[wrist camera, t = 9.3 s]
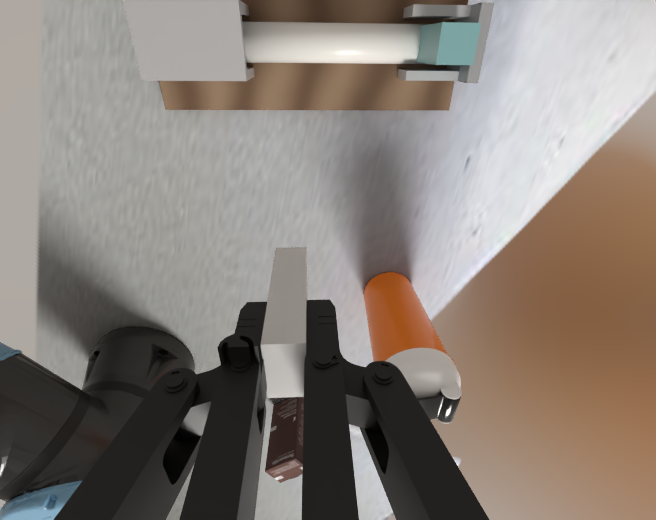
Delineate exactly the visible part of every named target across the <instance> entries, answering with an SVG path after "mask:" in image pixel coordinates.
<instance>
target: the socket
mask: <svg viewBox="0 0 656 520" xmlns="http://www.w3.org/2000/svg"><path fill="white" fill-rule="evenodd" d="M493 6H494V3H478V4H474V5H423V4H413V5H411V6H408V7H406V8H404V13H403V19H455V20H454V22H462V23H481V28H480V33H479V38H478V43H477V48H476V53H475V58H474V63H473V65H447V69H398V74H397V78H400V79H402V80H405V81H460V82H465V83H478V79H479V74H480V69H481V65H482V60H483V55H484V50H485V45H486V40H487V35H488V31H489V26H490V21H491V16H492V11H493Z"/></svg>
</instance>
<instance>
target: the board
mask: <svg viewBox="0 0 656 520" xmlns="http://www.w3.org/2000/svg"><path fill="white" fill-rule="evenodd" d="M240 1H242V2H243V3H245V4H246V5H248V8H249V16H242V22H308V23H382V24H435V23H441V22H454V20H455V19H403V13H404V8H406V7H408V6H411V5H413V4H423V5H467V4H468V0H240ZM246 67H247V68H254V76H255V77H253V78H251V79H250V80H248V81H159V82H160V86H161V91H162V96H163V100H164V105H165V110H449V107H450V102H451V96H452V90H453V85H454V81H405V80H402V79H400V78H397V74H398V69H447V65H433V64H361V63H246Z"/></svg>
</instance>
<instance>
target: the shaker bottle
mask: <svg viewBox="0 0 656 520" xmlns="http://www.w3.org/2000/svg"><path fill="white" fill-rule="evenodd" d="M364 299H365V306H366V313H367V320H368V327H369V333H370V340H371V347H372V354H373V361H374V362H375V361H386V362H390V363H392V364H394V365H395V366H397V367H398V369H399V370H400V371H401V372H402V374H403V376H404V377H405V379H406V381H407V382H408V384H409V386H410V387H411V389H412V391H413V392H414V394H415V396H416V397H417V399H418V401H419V402H420V404H421V406H422V407H423V409H424V411H425V413H426V414H427V416H428V418H429V419H430V420H431V419H435V418H436V419H437V420H438V421H440V422H442V423H450V422H451V421H452V420H453V418H454V415H455V412H456V409H457V407H458V403H459V401H460V398H461V395H462V392H461V389H460V385H461V378H460V375H459V373H458V371H457V369H456V366H455V363H454V361H453V359H452V358H451V357H450V356H449V355H448V354H447V352H446V350H445V349H444V347H443V345H442V343H441V341H440V339H439V337H438V335H437V333H436V331H435V329H434V327H433V325H432V324H431V322H430V320H429V318H428V316H427V314H426V312H425V310H424V308H423V306H422V304H421V302H420V300H419V299H418V297H417V295H416V293H415V291H414V289H413V287H412V285H411V283H410V281H409V280H408V279H407V278H406V277H405V276H404V275H402V274H399V273H396V272H386V273H382V274H379V275H377V276H375V277H374V278H372V279H371V280H370V281H369V282H368V284H367V285H366V287H365V290H364Z"/></svg>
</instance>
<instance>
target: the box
mask: <svg viewBox="0 0 656 520" xmlns="http://www.w3.org/2000/svg"><path fill="white" fill-rule="evenodd" d="M303 416H304V397H290V398H288V399H286V400H284V401H282V402H280V403H278V404H275V405H274V406H273V414H272V422H271V430H270V438H269V445H268V454H267V461H266V468H265V472H266V473H268V474H269V475H270V476H272V477H273V478H275V479H276V480H277V481H279V482H280V483H281V482H283V481H286V480H288V479H292V478H295V477H298V476H299V475H301V474H303Z"/></svg>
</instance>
